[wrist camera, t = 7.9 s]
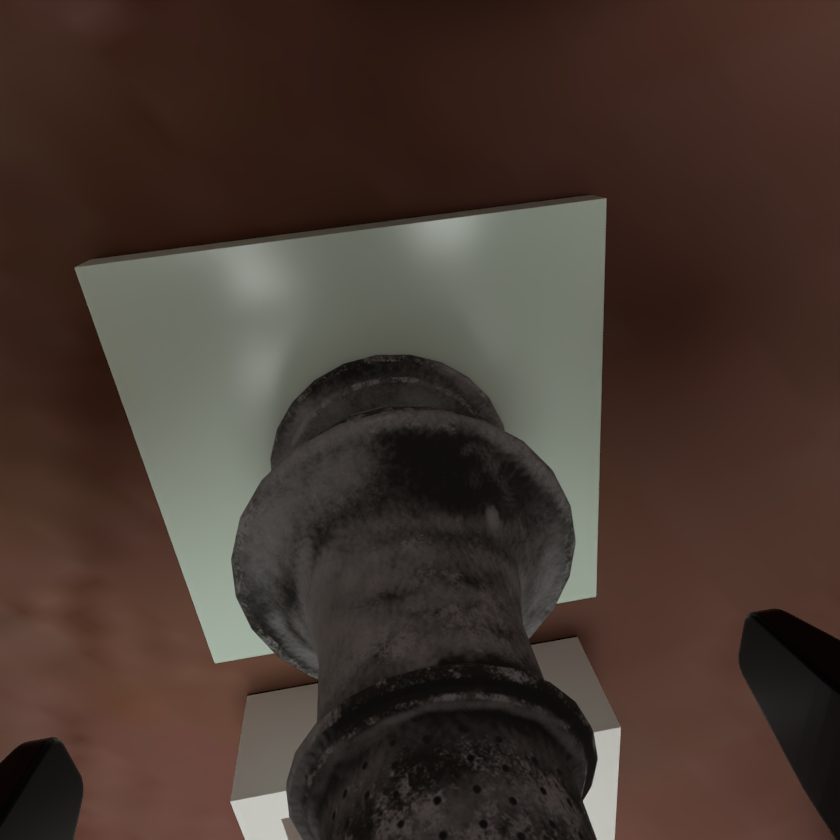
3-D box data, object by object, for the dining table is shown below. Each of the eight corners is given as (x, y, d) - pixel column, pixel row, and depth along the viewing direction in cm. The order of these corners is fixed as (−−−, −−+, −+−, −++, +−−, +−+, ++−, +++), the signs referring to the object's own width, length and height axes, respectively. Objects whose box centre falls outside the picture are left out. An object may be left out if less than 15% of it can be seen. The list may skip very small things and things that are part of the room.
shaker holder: (577, 636, 18) (620, 727, 15) (575, 832, 22) (609, 930, 19) (247, 695, 17) (230, 801, 14) (310, 886, 21) (306, 995, 18)
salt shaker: (325, 603, 15) (301, 1826, 4) (205, 404, 12) (-712, 2301, 2) (548, 517, 15) (1144, 1584, 4) (473, 295, 12) (1650, 1660, 1)
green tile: (590, 194, 12) (606, 198, 12) (584, 576, 17) (596, 596, 16) (90, 259, 12) (74, 267, 11) (220, 639, 16) (215, 663, 15)
